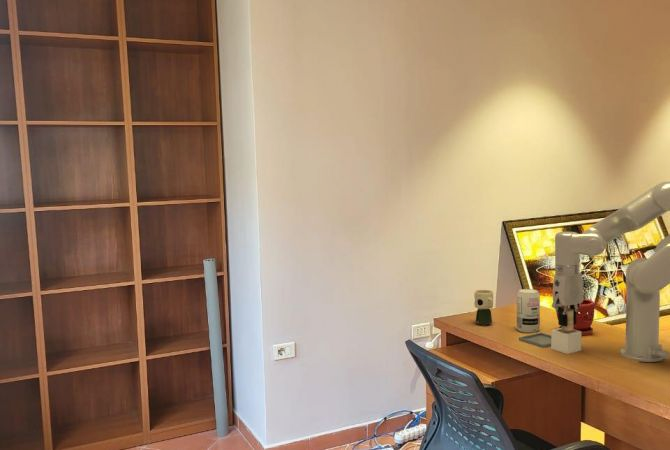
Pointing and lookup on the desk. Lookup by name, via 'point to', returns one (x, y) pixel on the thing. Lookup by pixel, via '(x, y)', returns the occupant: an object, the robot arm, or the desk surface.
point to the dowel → (569, 327)
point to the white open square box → (565, 341)
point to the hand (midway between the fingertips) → (567, 323)
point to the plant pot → (584, 317)
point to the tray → (537, 339)
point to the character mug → (483, 306)
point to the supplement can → (528, 311)
